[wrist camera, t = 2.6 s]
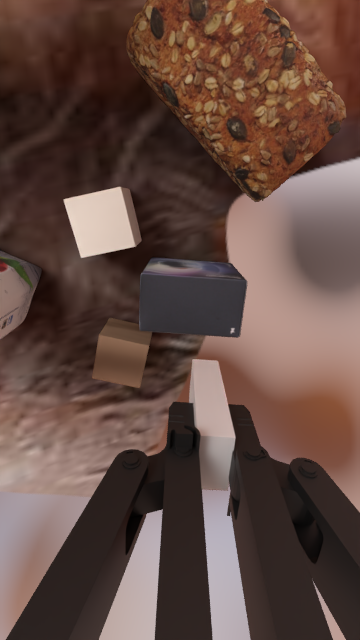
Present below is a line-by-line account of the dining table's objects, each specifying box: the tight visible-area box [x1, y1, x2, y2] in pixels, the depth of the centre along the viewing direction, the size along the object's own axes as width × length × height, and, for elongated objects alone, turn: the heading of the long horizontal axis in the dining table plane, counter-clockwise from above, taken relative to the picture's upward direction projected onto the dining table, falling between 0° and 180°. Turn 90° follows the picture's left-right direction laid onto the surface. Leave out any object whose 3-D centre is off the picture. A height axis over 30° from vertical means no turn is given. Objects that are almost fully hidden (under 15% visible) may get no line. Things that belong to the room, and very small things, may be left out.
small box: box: [139, 257, 247, 337], centre depth 36 cm, size 11×6×10 cm, turn 86°
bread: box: [126, 0, 346, 202], centre depth 30 cm, size 19×11×10 cm, turn 45°
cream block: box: [63, 187, 142, 258], centre depth 36 cm, size 6×6×6 cm
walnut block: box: [92, 318, 152, 388], centre depth 41 cm, size 6×6×6 cm
